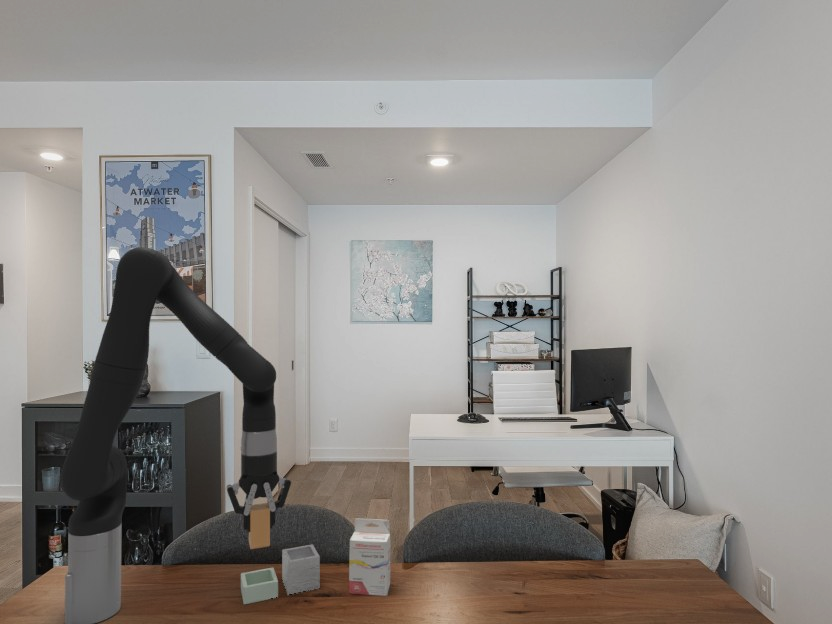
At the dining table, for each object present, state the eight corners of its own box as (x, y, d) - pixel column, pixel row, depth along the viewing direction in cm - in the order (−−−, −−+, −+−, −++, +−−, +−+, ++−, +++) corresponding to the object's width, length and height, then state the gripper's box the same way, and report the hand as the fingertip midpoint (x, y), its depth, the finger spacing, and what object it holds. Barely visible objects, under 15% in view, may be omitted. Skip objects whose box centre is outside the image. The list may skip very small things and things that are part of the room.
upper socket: (287, 595, 112) (287, 562, 112) (282, 580, 118) (282, 549, 118) (319, 588, 115) (319, 556, 115) (312, 574, 121) (312, 544, 121)
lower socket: (243, 604, 108) (243, 588, 108) (240, 589, 115) (240, 573, 115) (278, 597, 111) (278, 581, 111) (273, 582, 117) (273, 567, 117)
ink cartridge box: (348, 594, 112) (348, 525, 112) (353, 583, 117) (353, 517, 117) (387, 596, 111) (387, 527, 111) (391, 585, 116) (390, 518, 116)
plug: (250, 549, 110) (250, 511, 110) (248, 542, 114) (248, 505, 114) (270, 545, 112) (269, 508, 112) (267, 539, 116) (267, 502, 116)
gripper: (225, 457, 107) (225, 541, 107) (295, 450, 113) (295, 530, 112) (223, 449, 114) (223, 528, 114) (289, 443, 120) (289, 518, 119)
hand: (259, 528), depth 113 cm, fingers closed on plug, 4 cm apart
